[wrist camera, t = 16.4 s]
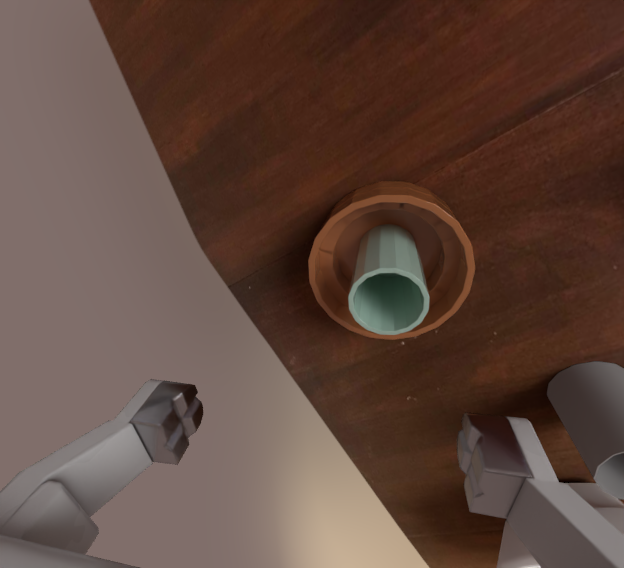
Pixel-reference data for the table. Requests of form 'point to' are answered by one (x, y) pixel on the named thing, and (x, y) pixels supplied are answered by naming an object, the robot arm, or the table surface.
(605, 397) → the cup
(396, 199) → the brown bowl
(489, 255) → the table surface
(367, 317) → the tumbler
